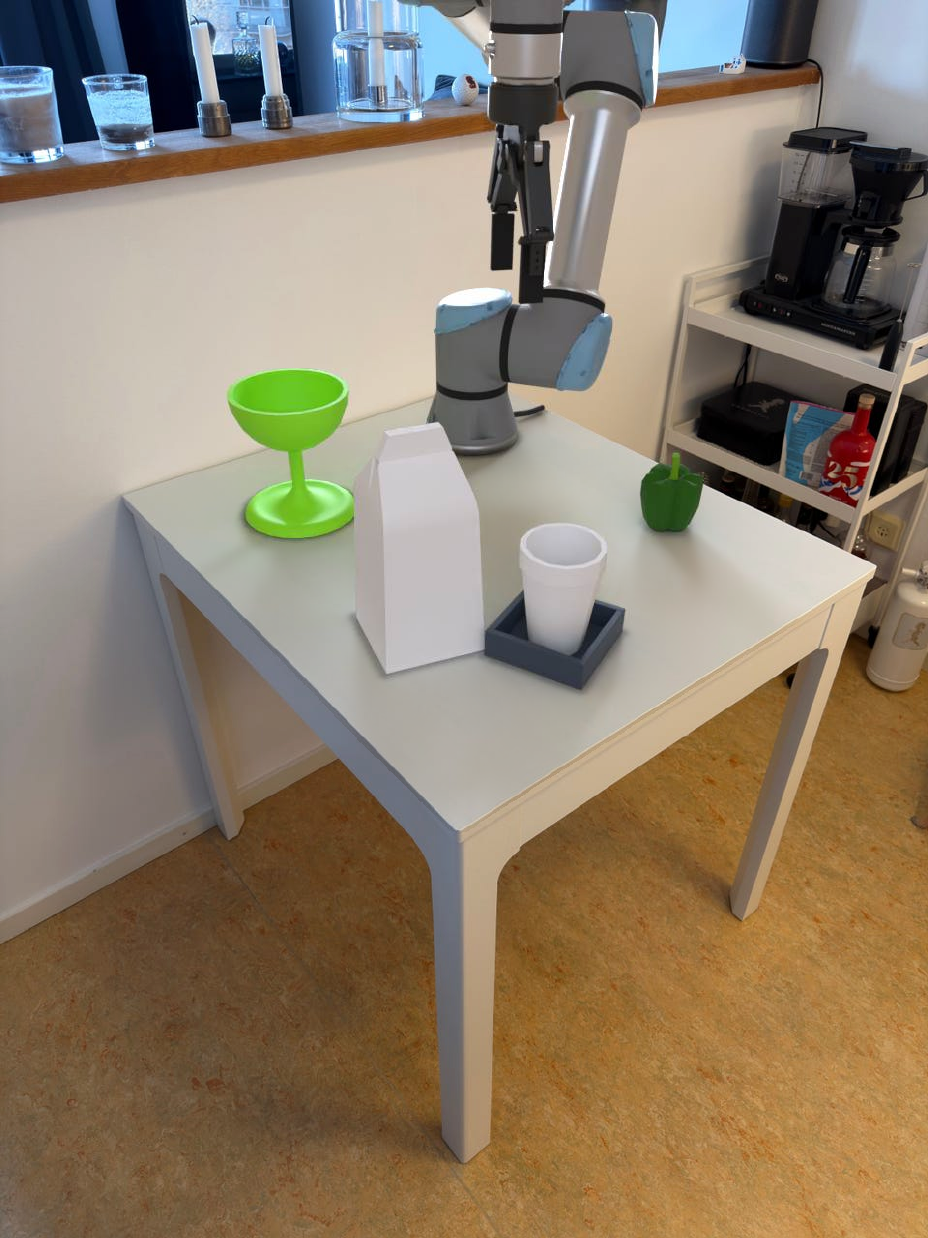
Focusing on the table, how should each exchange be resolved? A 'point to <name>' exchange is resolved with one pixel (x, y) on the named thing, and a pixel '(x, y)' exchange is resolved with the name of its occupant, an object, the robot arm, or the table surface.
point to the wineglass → (293, 447)
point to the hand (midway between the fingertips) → (515, 285)
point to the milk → (417, 551)
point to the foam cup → (560, 583)
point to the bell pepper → (670, 496)
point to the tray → (514, 648)
